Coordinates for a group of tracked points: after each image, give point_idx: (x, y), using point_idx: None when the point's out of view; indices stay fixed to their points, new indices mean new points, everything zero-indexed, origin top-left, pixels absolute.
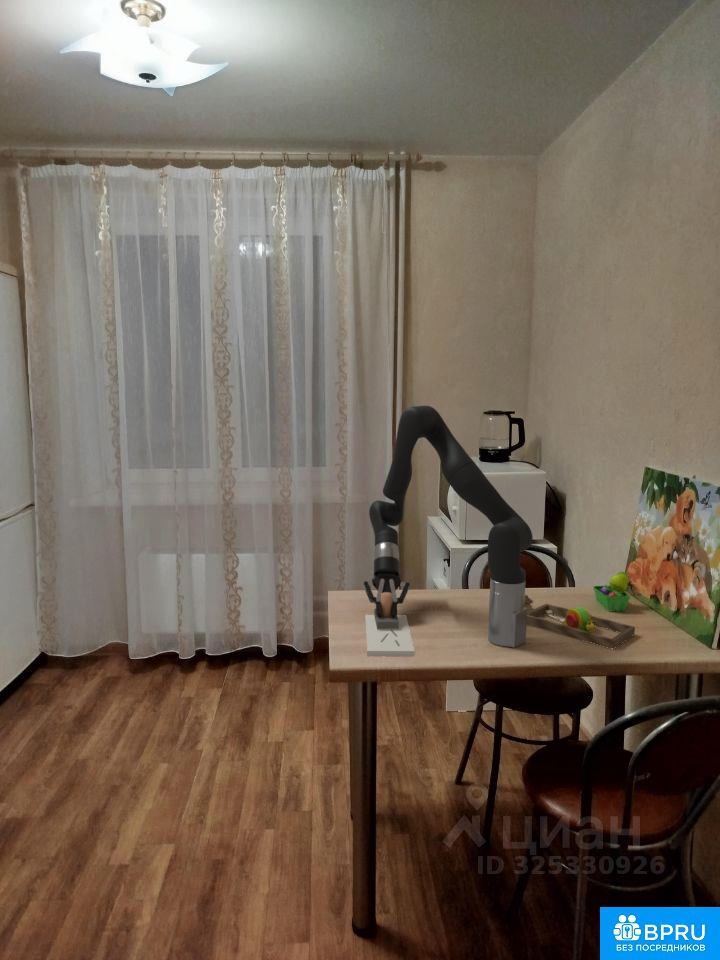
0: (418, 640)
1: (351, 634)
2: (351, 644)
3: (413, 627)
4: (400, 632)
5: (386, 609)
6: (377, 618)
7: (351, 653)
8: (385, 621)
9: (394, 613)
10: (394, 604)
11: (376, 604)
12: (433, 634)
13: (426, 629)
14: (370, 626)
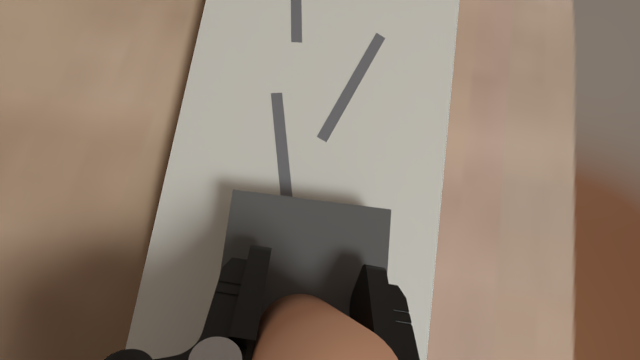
0: (142, 101)
1: (501, 248)
2: (508, 117)
3: (100, 314)
4: (237, 147)
5: (317, 300)
6: None
7: (514, 19)
8: (330, 209)
9: (252, 247)
10: (235, 317)
11: (415, 357)
12: (6, 173)
13: (19, 265)
14: (406, 278)
